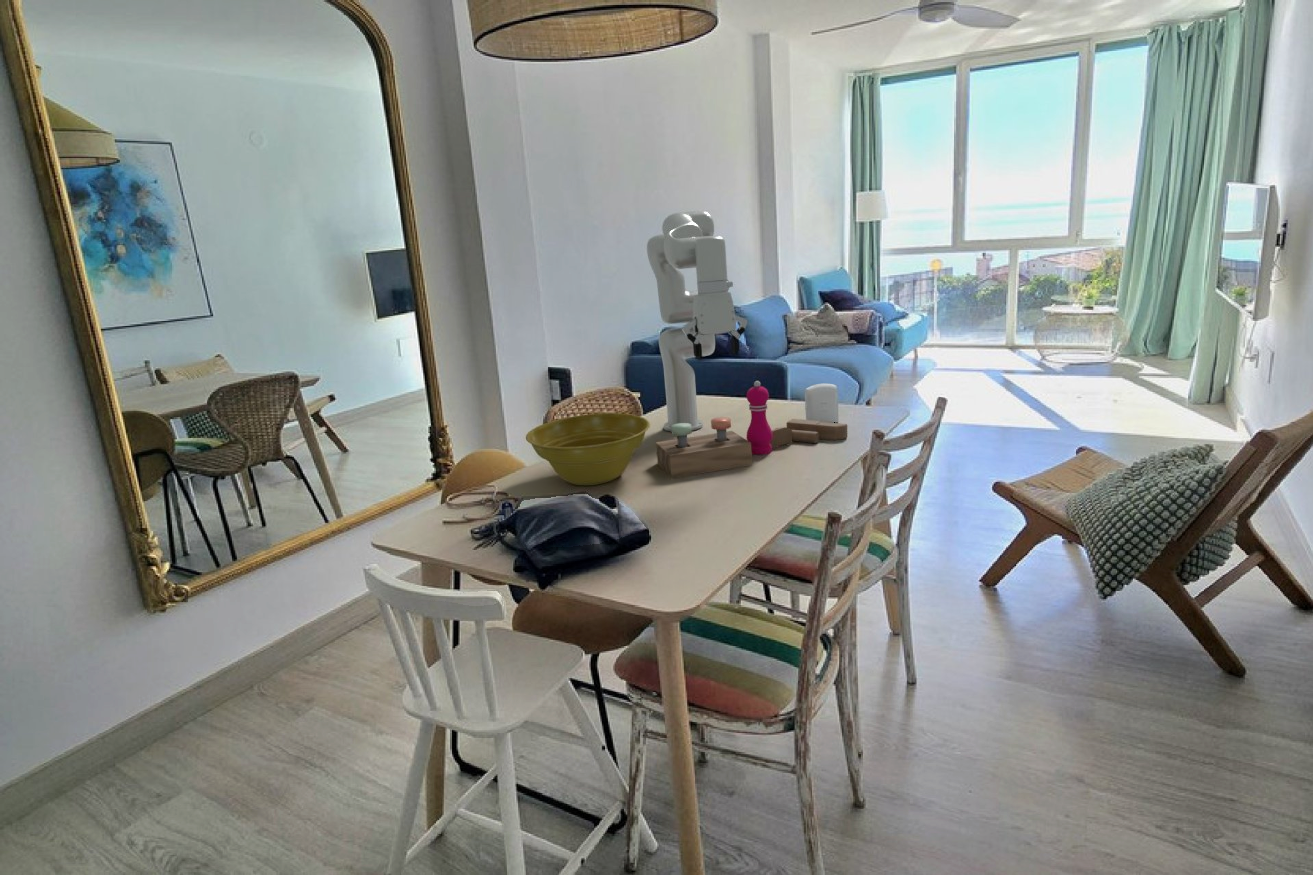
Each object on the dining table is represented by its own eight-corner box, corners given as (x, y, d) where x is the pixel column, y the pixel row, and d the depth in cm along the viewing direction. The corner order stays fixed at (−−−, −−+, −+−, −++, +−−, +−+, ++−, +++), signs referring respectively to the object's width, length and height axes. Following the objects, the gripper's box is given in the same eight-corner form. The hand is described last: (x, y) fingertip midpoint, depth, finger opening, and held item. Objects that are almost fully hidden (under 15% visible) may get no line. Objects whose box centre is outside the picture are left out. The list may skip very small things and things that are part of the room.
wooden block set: (789, 415, 224) (848, 419, 214) (790, 433, 225) (848, 438, 215) (764, 429, 210) (825, 434, 200) (764, 448, 212) (825, 455, 202)
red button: (710, 445, 203) (708, 419, 201) (728, 443, 205) (726, 416, 203) (716, 450, 199) (714, 423, 197) (734, 447, 200) (733, 420, 198)
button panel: (657, 463, 205) (655, 442, 204) (733, 451, 211) (732, 430, 209) (671, 478, 192) (670, 455, 191) (752, 464, 197) (750, 443, 196)
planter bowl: (589, 507, 176) (583, 453, 173) (507, 484, 198) (500, 435, 194) (679, 469, 199) (675, 420, 195) (596, 452, 220) (591, 408, 217)
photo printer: (808, 427, 229) (807, 387, 226) (803, 423, 233) (802, 384, 230) (840, 423, 230) (840, 383, 227) (835, 419, 234) (834, 381, 231)
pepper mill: (772, 455, 204) (769, 383, 199) (746, 455, 206) (742, 384, 200) (774, 447, 211) (771, 377, 206) (748, 448, 212) (744, 378, 207)
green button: (671, 451, 201) (669, 424, 199) (689, 449, 202) (687, 422, 200) (676, 456, 196) (674, 429, 194) (695, 453, 197) (693, 426, 195)
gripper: (739, 284, 192) (742, 350, 196) (674, 291, 188) (680, 359, 192) (750, 285, 185) (754, 354, 189) (684, 292, 181) (689, 362, 185)
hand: (716, 356), depth 191 cm, fingers open, 9 cm apart
